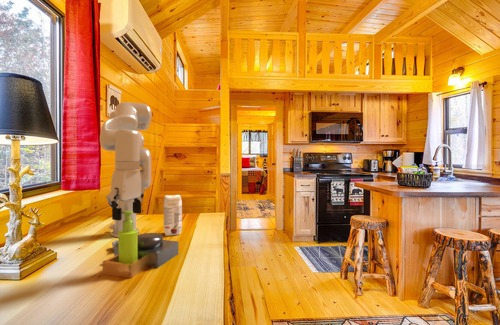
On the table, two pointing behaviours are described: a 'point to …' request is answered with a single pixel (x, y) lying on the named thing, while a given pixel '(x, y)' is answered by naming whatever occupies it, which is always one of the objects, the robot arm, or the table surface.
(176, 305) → the table surface
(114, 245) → the egg carton
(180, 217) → the juice carton
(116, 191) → the robot arm
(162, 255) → the grey block with dome
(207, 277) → the table surface
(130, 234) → the soap dispenser
